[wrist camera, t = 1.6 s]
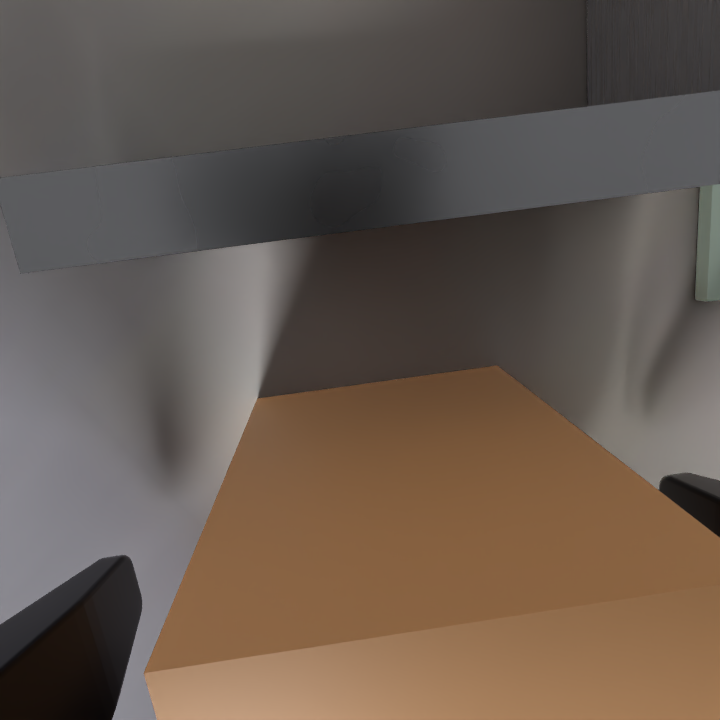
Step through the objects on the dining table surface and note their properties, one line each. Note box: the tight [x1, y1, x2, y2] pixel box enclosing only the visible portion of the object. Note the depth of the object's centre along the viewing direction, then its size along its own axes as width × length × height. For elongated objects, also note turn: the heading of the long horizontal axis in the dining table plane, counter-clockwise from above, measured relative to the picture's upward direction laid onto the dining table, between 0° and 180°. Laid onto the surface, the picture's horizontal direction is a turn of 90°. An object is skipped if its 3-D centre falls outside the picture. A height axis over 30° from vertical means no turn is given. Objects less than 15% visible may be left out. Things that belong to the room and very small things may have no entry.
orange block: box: [144, 366, 720, 720], centre depth 7 cm, size 4×4×6 cm
